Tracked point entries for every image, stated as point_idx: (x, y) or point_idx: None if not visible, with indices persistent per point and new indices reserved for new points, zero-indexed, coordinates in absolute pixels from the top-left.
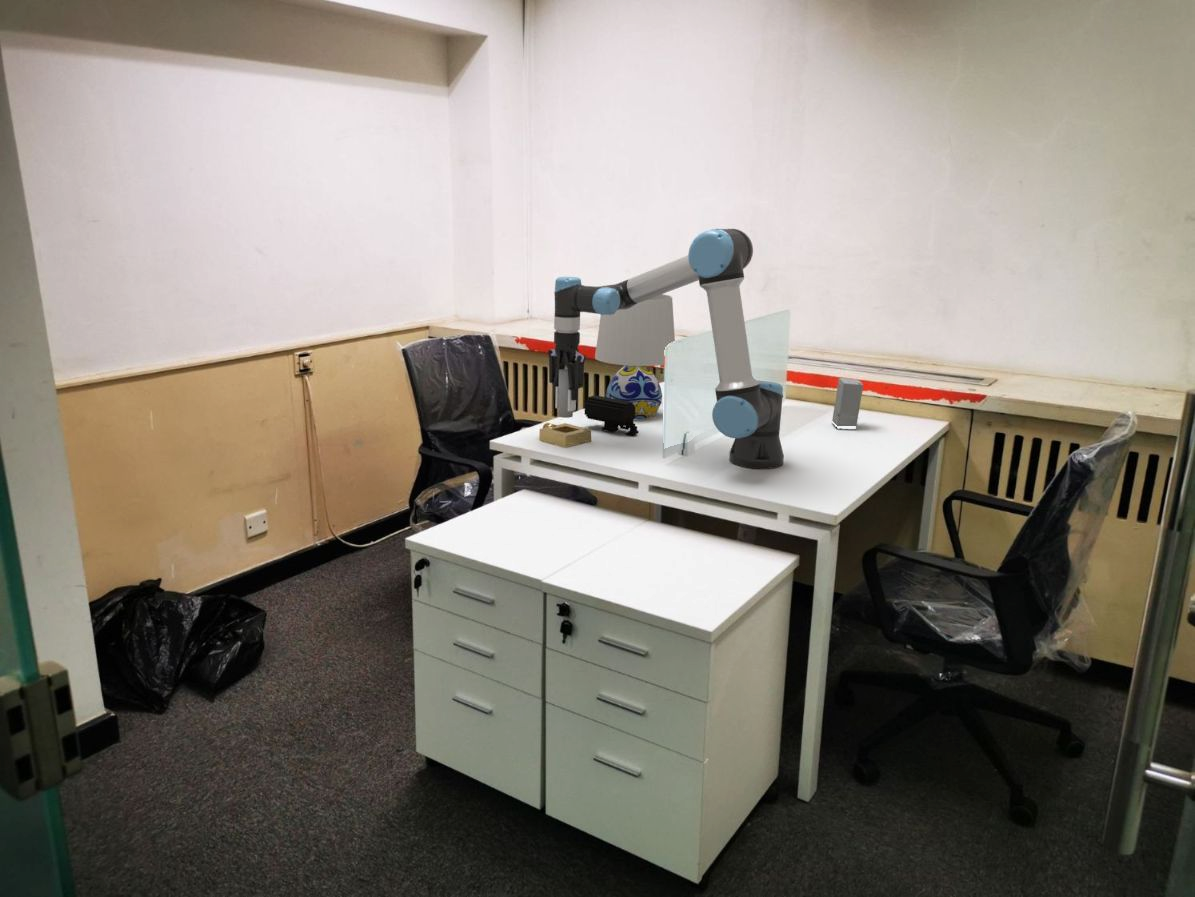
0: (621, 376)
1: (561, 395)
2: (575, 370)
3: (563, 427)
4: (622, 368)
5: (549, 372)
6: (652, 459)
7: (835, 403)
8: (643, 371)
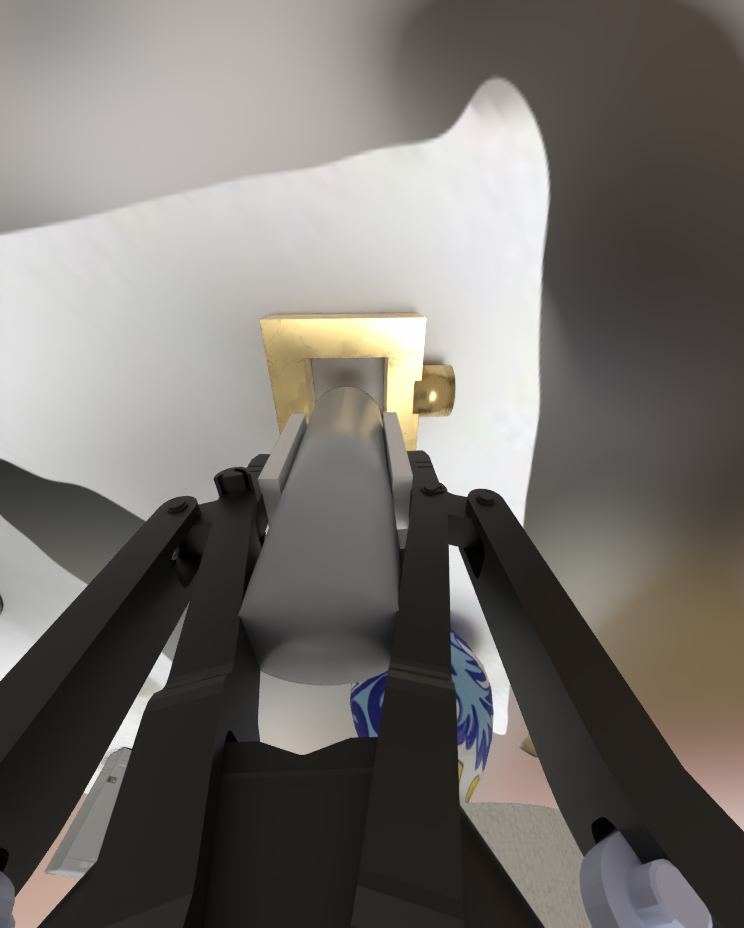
0: None
1: (329, 434)
2: (80, 650)
3: None
4: (461, 783)
5: (535, 553)
6: (8, 434)
7: None
8: None
